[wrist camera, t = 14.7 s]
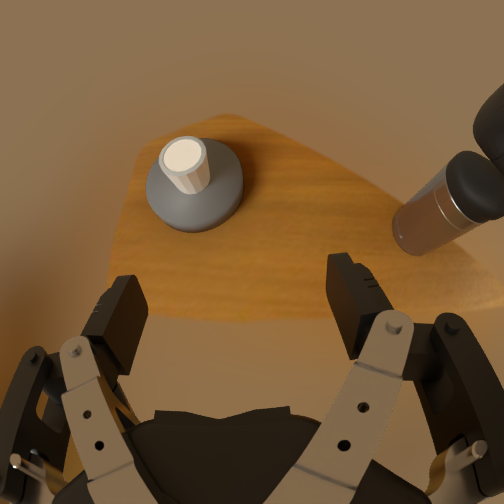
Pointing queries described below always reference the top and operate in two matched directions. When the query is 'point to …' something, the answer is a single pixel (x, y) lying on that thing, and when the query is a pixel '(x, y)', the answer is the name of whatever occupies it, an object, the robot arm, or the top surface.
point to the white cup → (186, 164)
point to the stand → (204, 202)
